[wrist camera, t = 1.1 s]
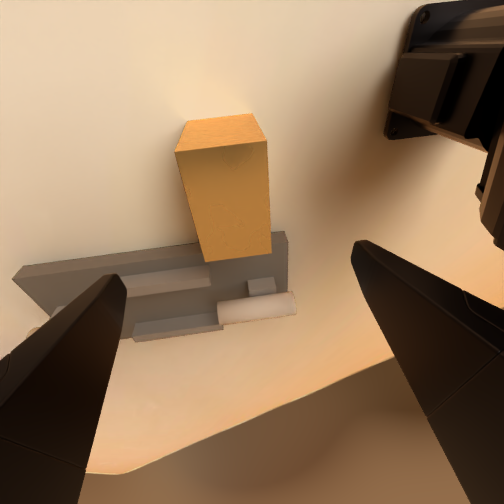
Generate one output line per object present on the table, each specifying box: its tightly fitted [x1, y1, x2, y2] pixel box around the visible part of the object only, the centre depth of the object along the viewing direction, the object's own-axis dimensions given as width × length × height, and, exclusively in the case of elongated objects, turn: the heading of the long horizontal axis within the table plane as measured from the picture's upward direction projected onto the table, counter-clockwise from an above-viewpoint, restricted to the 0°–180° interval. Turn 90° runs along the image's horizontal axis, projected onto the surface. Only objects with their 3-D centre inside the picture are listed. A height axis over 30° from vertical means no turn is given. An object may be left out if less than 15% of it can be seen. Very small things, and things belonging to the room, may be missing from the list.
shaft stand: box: [12, 231, 296, 342], centre depth 22 cm, size 22×10×5 cm, turn 95°
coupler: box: [174, 113, 272, 262], centre depth 15 cm, size 6×4×6 cm, turn 5°
